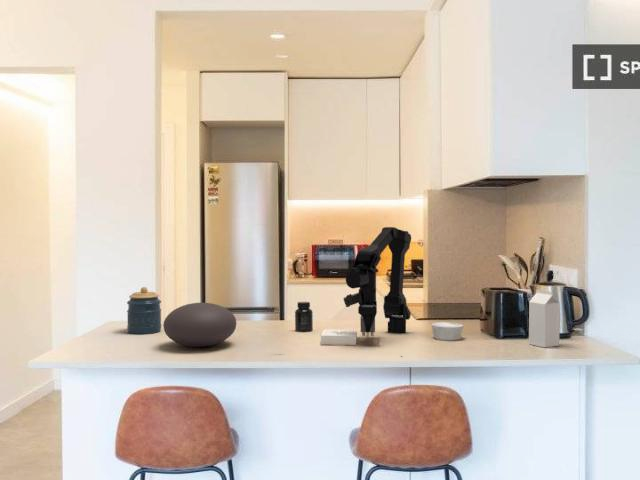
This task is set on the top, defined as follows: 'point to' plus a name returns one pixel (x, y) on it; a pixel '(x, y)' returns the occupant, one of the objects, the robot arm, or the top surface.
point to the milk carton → (544, 319)
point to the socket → (339, 337)
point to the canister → (144, 312)
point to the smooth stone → (199, 324)
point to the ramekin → (447, 331)
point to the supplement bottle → (303, 317)
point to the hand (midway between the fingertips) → (367, 330)
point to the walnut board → (361, 342)
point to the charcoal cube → (365, 328)
